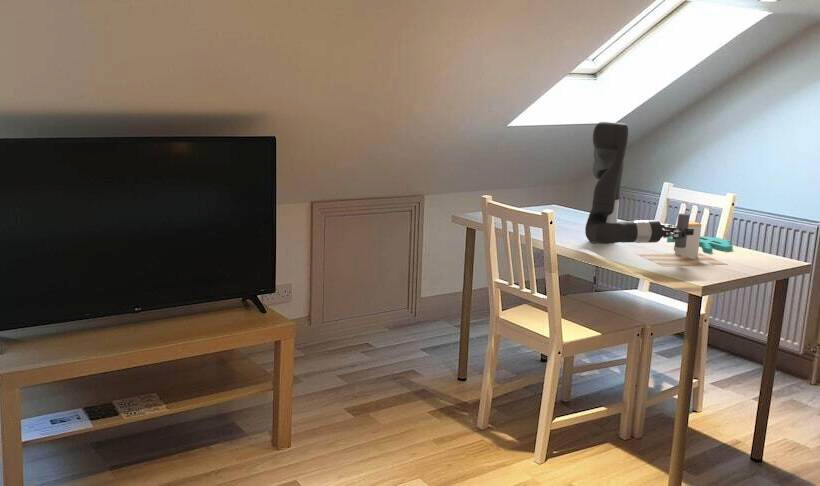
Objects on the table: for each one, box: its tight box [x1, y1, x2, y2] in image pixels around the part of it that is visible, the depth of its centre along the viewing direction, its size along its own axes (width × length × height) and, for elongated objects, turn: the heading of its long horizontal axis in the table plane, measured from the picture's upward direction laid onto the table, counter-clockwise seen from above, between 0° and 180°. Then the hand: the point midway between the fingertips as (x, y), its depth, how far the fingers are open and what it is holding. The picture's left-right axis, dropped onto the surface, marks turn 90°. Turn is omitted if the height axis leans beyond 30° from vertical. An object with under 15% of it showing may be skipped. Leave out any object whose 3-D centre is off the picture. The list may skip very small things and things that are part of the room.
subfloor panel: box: [636, 252, 729, 268], centre depth 285 cm, size 17×25×2 cm
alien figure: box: [666, 235, 734, 254], centre depth 316 cm, size 20×2×20 cm
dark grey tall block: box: [673, 213, 691, 252], centre depth 275 cm, size 4×4×12 cm
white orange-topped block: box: [674, 220, 702, 257], centre depth 290 cm, size 5×6×12 cm
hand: (689, 230), depth 276 cm, fingers closed on dark grey tall block, 3 cm apart
